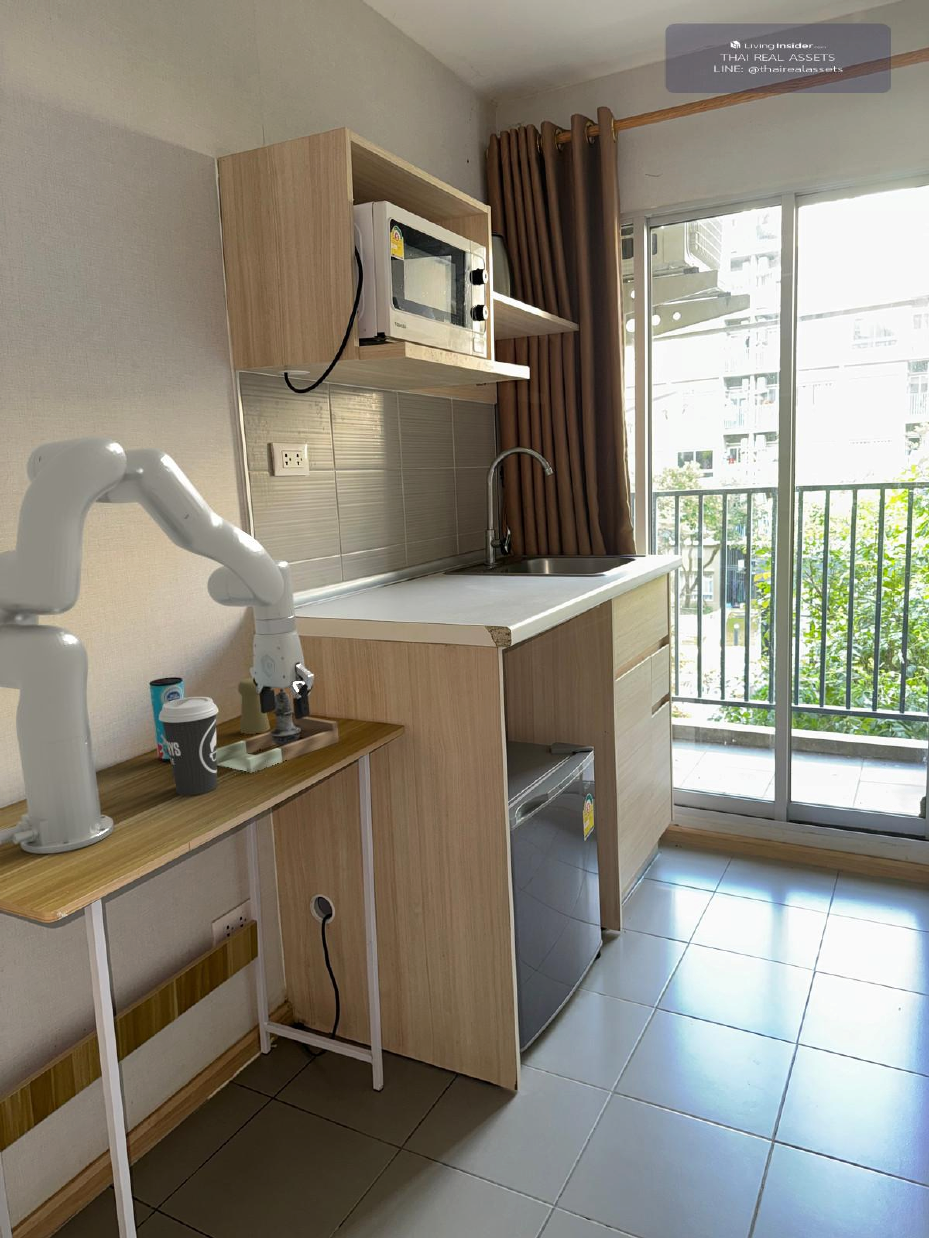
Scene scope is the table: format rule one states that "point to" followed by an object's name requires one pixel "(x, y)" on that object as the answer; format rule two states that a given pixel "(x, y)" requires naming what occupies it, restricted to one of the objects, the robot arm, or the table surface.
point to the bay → (312, 730)
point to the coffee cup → (191, 743)
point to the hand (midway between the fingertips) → (285, 714)
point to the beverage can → (160, 695)
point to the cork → (251, 709)
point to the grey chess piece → (284, 721)
